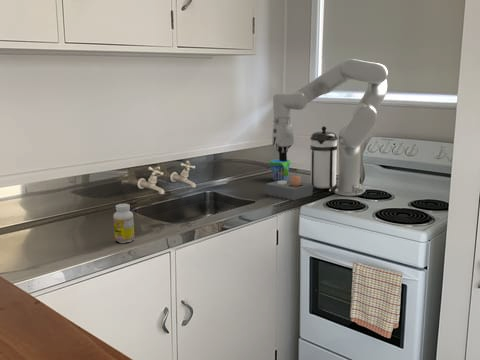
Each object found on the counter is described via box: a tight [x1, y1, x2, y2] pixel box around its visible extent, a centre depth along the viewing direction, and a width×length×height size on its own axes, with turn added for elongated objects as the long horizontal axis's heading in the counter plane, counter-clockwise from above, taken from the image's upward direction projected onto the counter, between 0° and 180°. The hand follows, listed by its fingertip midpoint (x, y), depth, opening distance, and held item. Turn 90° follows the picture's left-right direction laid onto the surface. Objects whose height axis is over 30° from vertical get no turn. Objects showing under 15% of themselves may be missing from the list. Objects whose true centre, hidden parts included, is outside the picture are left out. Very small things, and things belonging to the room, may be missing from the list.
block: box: [265, 179, 313, 201], centre depth 249 cm, size 17×13×5 cm
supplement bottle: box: [112, 203, 135, 240], centre depth 186 cm, size 7×7×13 cm
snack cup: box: [269, 158, 292, 182], centre depth 280 cm, size 16×10×10 cm
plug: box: [277, 181, 287, 185], centre depth 251 cm, size 4×4×5 cm
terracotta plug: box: [290, 175, 302, 187], centre depth 245 cm, size 4×4×5 cm
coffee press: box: [309, 126, 339, 193], centre depth 258 cm, size 17×16×30 cm
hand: (283, 160), depth 249 cm, fingers closed
